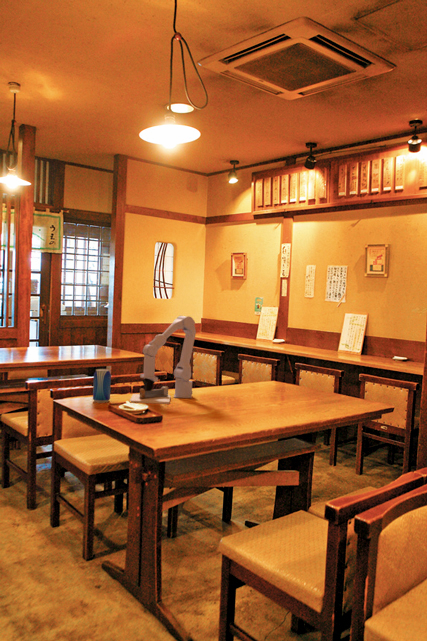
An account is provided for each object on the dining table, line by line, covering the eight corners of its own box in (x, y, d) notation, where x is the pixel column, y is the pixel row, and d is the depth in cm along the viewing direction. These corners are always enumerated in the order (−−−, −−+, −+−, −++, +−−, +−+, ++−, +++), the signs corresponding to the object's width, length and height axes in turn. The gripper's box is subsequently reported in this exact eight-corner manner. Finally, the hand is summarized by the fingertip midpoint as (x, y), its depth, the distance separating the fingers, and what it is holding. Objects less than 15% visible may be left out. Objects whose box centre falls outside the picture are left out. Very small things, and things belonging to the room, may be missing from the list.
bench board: (170, 396, 272) (170, 394, 272) (169, 403, 254) (169, 401, 254) (133, 395, 271) (133, 393, 271) (129, 402, 253) (129, 400, 253)
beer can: (107, 403, 248) (109, 371, 248) (90, 402, 248) (92, 370, 248) (111, 400, 257) (112, 369, 256) (95, 399, 257) (96, 368, 256)
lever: (165, 394, 271) (165, 386, 270) (169, 395, 268) (169, 387, 268) (138, 397, 259) (138, 388, 259) (141, 398, 257) (142, 389, 257)
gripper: (135, 366, 267) (134, 391, 267) (150, 369, 255) (148, 396, 256) (147, 365, 271) (145, 390, 271) (161, 369, 260) (160, 395, 260)
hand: (148, 393), depth 264 cm, fingers closed
